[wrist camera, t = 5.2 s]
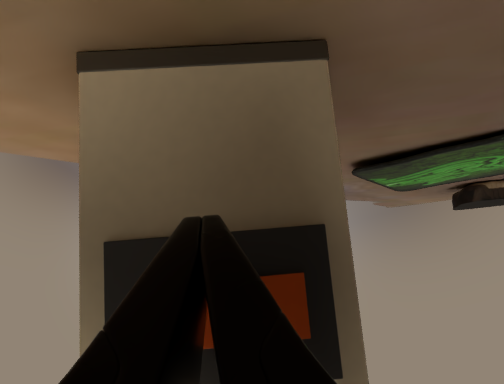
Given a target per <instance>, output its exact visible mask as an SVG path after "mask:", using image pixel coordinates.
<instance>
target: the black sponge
mask: <svg viewBox="0 0 504 384" xmlns="http://www.w3.org/2000/svg"><path fill="white" fill-rule="evenodd" d="M452 203H453V210H464V209H473V208H483V207H491V206H501V205H504V180H502V181H491V182H484V183H474V184H470V185H468V186H466V187H465V188H463V189H462V190H461V191H459V192H457V193H455V194H453V196H452Z"/></svg>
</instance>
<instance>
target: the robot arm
mask: <svg viewBox="0 0 504 384" xmlns="http://www.w3.org/2000/svg"><path fill="white" fill-rule="evenodd" d="M207 306H208V313H209V320H210V326H211V332H212V339H213V345H214V351H215V358H216V364H217V371H218V377H219V383H220V384H337V383H336V382H335V381H334V379H333V378H332V377H331V376H330V375H329V373H328V372H327V371H326V370H325V369H324V367H323V366H322V365H321V364H320V362H319V361H318V360H317V359H316V357H315V356H314V355H313V354H312V352H311V351H310V350H309V349H308V347H307V346H306V345H305V343H304V342H303V340H302V339H301V338H300V336H299V335H298V333H297V332H296V330H295V329H294V328H293V326H292V325H291V323H290V322H289V320H288V319H287V317H286V315H285V314H284V313H282V310H281V308H280V307H279V305H278V304H277V302H276V301H275V299H274V297H273V296H272V294H271V293H270V291H269V290H268V288H267V287H266V285H265V284H264V282H263V281H262V279H261V278H260V276H259V275H258V273H257V272H256V270H255V269H254V267H253V265H252V264H251V262H250V261H249V259H248V258H247V256H246V255H245V253H244V252H243V250H242V249H241V247H240V246H239V244H238V243H237V241H236V240H235V238H234V236H233V235H232V233H231V232H230V230H229V229H228V227H227V226H226V224H225V223H224V221H223V220H222V218H221V217H220V216H219V215H205V216H203V217H202V218H201V217H200V216H192V217H185V218H183V219H182V221H181V222H180V223H179V225H178V226H177V228H176V229H175V230H174V232H173V233H172V234H171V236H170V237H169V238H168V240H167V241H166V242H165V244H164V245H163V246H162V248H161V249H160V251H159V252H158V253H157V255H156V256H155V257H154V259H153V260H152V261H151V263H150V264H149V265H148V267H147V268H146V269H145V271H144V272H143V274H142V275H141V276H140V278H139V279H138V280H137V282H136V283H135V284H134V286H133V287H132V288H131V290H130V291H129V292H128V294H127V295H126V296H125V298H124V299H123V301H122V302H121V303H120V305H119V306H118V307H117V309H116V310H115V311H114V313H113V314H112V315H111V317H110V318H109V319H108V321H107V322H106V324H105V325H104V326H103V330H101V331H99V333H98V334H97V335H96V337H95V338H94V339H93V341H92V342H91V344H90V345H89V346H88V348H87V349H86V350H85V351H84V353H83V354H82V355H81V357H80V358H79V359H78V360H77V362H76V363H75V364H74V366H73V367H72V368H71V369H70V371H69V372H68V373H67V374H66V375H65V377H64V378H63V379H62V380H61V381H60V383H59V384H199V383H200V373H201V364H202V354H203V344H204V334H205V324H206V313H207Z"/></svg>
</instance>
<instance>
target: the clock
mask: <svg viewBox="0 0 504 384" xmlns="http://www.w3.org/2000/svg"><path fill="white" fill-rule="evenodd" d="M328 60H329V54H328V46H327V41H326V40H320V41H300V42H279V43H259V44H238V45H218V46H197V47H177V48H157V49H136V50H116V51H95V52H78V53H77V73H78V74H79V254H80V255H79V257H80V264H79V265H80V266H79V267H80V268H79V269H80V357H81V355H82V354H83V353H84V351H85V350H86V349H87V348H88V346H89V345H90V344H91V342H92V341H93V339H94V338H95V337H96V335H97V334H98V333H99V331H101V330H103V326H104V325H105V324H106V322H107V321H108V319H109V318H110V317H111V315H112V314H113V313H114V311H115V310H116V309H117V307H118V306H119V305H120V303H121V302H122V301H123V299H124V298H125V296H126V295H127V294H128V292H129V291H130V290H131V288H132V287H133V286H134V284H135V283H136V282H137V280H138V279H139V278H140V276H141V275H142V274H143V272H144V271H145V269H146V268H147V267H148V265H149V264H150V263H151V261H152V260H153V259H154V257H155V256H156V255H157V253H158V252H159V251H160V249H161V248H162V246H163V245H164V244H165V242H166V241H167V240H168V238H169V237H170V236H171V234H172V233H173V232H174V230H175V229H176V228H177V226H178V225H179V223H180V222H181V221H182V219H183V218H185V217H192V216H200V217H201V218H202V217H203V216H205V215H219V216H220V217H221V218H222V220H223V221H224V223H225V224H226V226H227V227H228V229H229V230H230V232H231V233H232V235H233V236H234V238H235V240H236V241H237V243H238V244H239V246H240V247H241V249H242V250H243V252H244V253H245V255H246V256H247V258H248V259H249V261H250V262H251V264H252V265H253V267H254V269H255V270H256V272H257V273H258V275H259V276H260V278H261V279H262V281H263V282H264V284H265V285H266V287H267V288H268V290H269V291H270V293H271V294H272V296H273V297H274V299H275V301H276V302H277V304H278V305H279V307H280V308H281V310H282V313H284V314H285V315H286V317H287V319H288V320H289V322H290V323H291V325H292V326H293V328H294V329H295V330H296V332H297V333H298V335H299V336H300V338H301V339H302V340H303V342H304V343H305V345H306V346H307V347H308V349H309V350H310V351H311V352H312V354H313V355H314V356H315V357H316V359H317V360H318V361H319V362H320V364H321V365H322V366H323V367H324V369H325V370H326V371H327V372H328V373H329V375H330V376H331V377H332V378H333V379H334V381H335V382H336V383H337V384H369V381H368V374H367V366H366V358H365V350H364V342H363V334H362V326H361V319H360V311H359V303H358V295H357V287H356V280H355V272H354V264H353V256H352V248H351V241H350V234H349V225H348V217H347V210H346V202H345V194H344V186H343V178H342V170H341V163H340V155H339V147H338V139H337V131H336V123H335V116H334V108H333V100H332V92H331V84H330V77H329V69H328ZM199 384H220V383H219V377H218V371H217V364H216V358H215V351H214V345H213V339H212V332H211V326H210V320H209V313H208V306H207V313H206V324H205V334H204V344H203V354H202V364H201V373H200V383H199Z"/></svg>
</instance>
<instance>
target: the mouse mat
mask: <svg viewBox="0 0 504 384" xmlns="http://www.w3.org/2000/svg"><path fill="white" fill-rule="evenodd" d="M352 174H353V175H355V176H357V177H359V178H362V179H365V180H367V181H370V182H373V183H376V184H378V185H381V186H384V187H387V188H390V189H392V190H395V191H412V190H417V189H422V188H427V187H432V186H437V185H443V184H449V183H455V182H460V181H466V180H472V179H478V178H484V177H490V176H496V175H502V174H504V134H503V135H499V136H495V137H491V138H487V139H483V140H478V141H473V142H467V143H464V144H459V145H454V146H449V147H444V148H440V149H436V150H432V151H428V152H424V153H421V154H417V155H414V156H410V157H406V158H402V159H398V160H394V161H389V162H385V163H380V164H375V165H369V166H364V167H359V168H355V169H354V170H353V171H352Z"/></svg>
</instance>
